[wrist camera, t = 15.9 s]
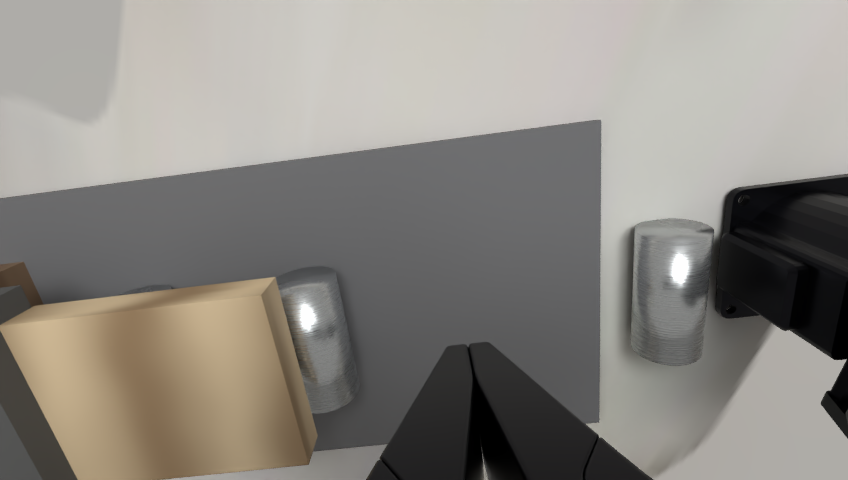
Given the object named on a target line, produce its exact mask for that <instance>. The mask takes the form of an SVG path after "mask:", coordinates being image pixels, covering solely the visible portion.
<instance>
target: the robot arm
mask: <svg viewBox="0 0 848 480" xmlns="http://www.w3.org/2000/svg"><path fill="white" fill-rule="evenodd" d="M742 195H744V198H743V200H742V201H741V202H740V203H738V200H739V198H740V197H741V196H742ZM717 286H718V287H717V296H716V306H715V307H716V311H717V312H718V313H719V314H720V315H721V316H723V317H725V318H739V317H748V316H757V315H761V316H762V317H764V318H765V319H767V320H768V321H770V322H771V323H773V324H774V325H776V326H777V327H779V328H780V329H782V330H784V331H787V330H790V331H792V332H793V333H795V334H796V335H798V336H799V337H801V338H802V339H804V340H805V341H807V342H809V343H810V344H811V345H813V346H814V347H816V348H817V349H819V350H820V351H822V352H823V353H825V354H827V355H828V356H830V357H831V358H833V359H834V360H843V359H847V360H846V362H845V364H844V366H843V368H842V370H841V372H840V374H839V376H838V378H837V380H836V382H835V384H834V386H833V387H832V390H831V391H827V392H826V393H825V396H824V397H823V399H822V401H821V405H822V406H823V407H824V409H825V410H826V411H827V413H828V414H829V415H830V416H831V418H832V419H833V420H834V422H835V423H836V424H837V425H838V427H839V428H840V429H841V430H842V432H843V433H844V434H845V436H846V437H847V438H848V174H843V175H835V176H827V177H819V178H811V179H803V180H795V181H786V182H778V183H770V184H762V185H754V186H746V187H739V188H735V189H734V190H732V191H731V192H730V193H729V195H728V197H727V201H726V211H725V220H724V230H723V236H722V238H721V245H720V255H719V264H718V274H717ZM729 305H731V306H730V308H729V309H727V310H726V308H727V307H728V306H729ZM481 447H482V449H481ZM482 453H483V458H482ZM483 459H484V464H485V468H486V472H487V476H488V479H489V480H653V479H652V478H650V477H649V476H648V475H646V474H645V473H644V472H643V471H641V470H640V469H639V468H638V467H636V466H635V465H634V464H633V463H631V462H630V461H629V460H628V459H626V458H625V457H624V456H623V455H622V454H620V453H619V452H618V451H617V450H615V449H614V448H613V447H612V446H611V445H610V444H608V443H607V442H606V441H605V440H604V439H603V438H599V436H598V434H596V433H595V432H594V431H593V430H592V429H591V428H589V427H588V426H587V425H586V424H585V423H584V422H582V421H581V420H580V419H579V418H578V417H577V416H575V415H574V414H573V413H572V412H571V411H569V410H568V409H567V408H566V407H565V406H564V405H562V404H561V403H560V402H559V401H558V400H557V399H555V398H554V397H553V396H552V395H551V394H550V393H548V392H547V391H546V390H545V389H544V388H543V387H541V386H540V385H539V384H538V383H537V382H535V381H534V380H533V379H532V378H531V377H530V376H528V375H527V374H526V373H525V372H524V371H523V370H521V369H520V368H519V367H518V366H517V365H516V364H514V363H513V362H512V361H511V360H510V359H509V358H507V357H506V356H505V355H504V354H503V353H501V352H500V351H499V350H498V349H497V348H496V347H494V346H493V345H492V344H491V343H490V342H478V343H471V344H469V346H467V345H465V344H460V345H451V346H447V347H446V349H445V350H444V352H443V354H442V355H441V357H440V359H439V360H438V362H437V364H436V365H435V367H434V369H433V370H432V372H431V374H430V375H429V377H428V379H427V380H426V382H425V384H424V385H423V387H422V388H421V390H420V392H419V393H418V395H417V397H416V398H415V400H414V402H413V403H412V405H411V407H410V408H409V410H408V412H407V413H406V415H405V417H404V418H403V420H402V422H401V423H400V425H399V427H398V428H397V430H396V432H395V433H394V435H393V437H392V438H391V440H390V442H389V443H388V445H387V446H386V448H385V450H384V451H383V453H382V455H381V456H380V460H378V461H377V463H376V464H375V466H374V468H373V469H372V471H371V473H370V474H369V476H368V478H367V479H366V480H484V473H483Z"/></svg>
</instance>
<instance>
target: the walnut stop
mask: <svg viewBox="0 0 848 480" xmlns="http://www.w3.org/2000/svg"><path fill="white" fill-rule="evenodd" d="M37 305H44V304H43V302H42V300H41V297H40V295H39V293H38V291H37V289H36V287H35V285H34V283H33V280H32V278H31V276H30V274H29V272H28V270H27V268H26V266H25V263H24V262H16V263H8V264H0V325H1V324H3V323H5V322H6V321H8V320H10V319H12V318H14V317H15V316H17V315H19V314H21V313H23V312H24V311H26V310H28V309H30V308H32V307H33V306H37ZM0 480H78V479H77V477H76V475H75V474H74V472H73V470H72V468H71V466H70V464H69V462H68V460H67V458H66V456H65V454H64V452H63V450H62V448H61V447H60V445H59V443H58V441H57V439H56V437H55V435H54V433H53V431H52V429H51V427H50V425H49V423H48V422H47V420H46V418H45V416H44V414H43V412H42V410H41V408H40V406H39V404H38V402H37V400H36V398H35V397H34V395H33V393H32V391H31V389H30V387H29V385H28V383H27V381H26V379H25V377H24V375H23V373H22V371H21V370H20V368H19V366H18V364H17V362H16V360H15V358H14V356H13V354H12V352H11V350H10V348H9V346H8V345H7V343H6V341H5V339H4V337H3V335H2V333H1V331H0Z"/></svg>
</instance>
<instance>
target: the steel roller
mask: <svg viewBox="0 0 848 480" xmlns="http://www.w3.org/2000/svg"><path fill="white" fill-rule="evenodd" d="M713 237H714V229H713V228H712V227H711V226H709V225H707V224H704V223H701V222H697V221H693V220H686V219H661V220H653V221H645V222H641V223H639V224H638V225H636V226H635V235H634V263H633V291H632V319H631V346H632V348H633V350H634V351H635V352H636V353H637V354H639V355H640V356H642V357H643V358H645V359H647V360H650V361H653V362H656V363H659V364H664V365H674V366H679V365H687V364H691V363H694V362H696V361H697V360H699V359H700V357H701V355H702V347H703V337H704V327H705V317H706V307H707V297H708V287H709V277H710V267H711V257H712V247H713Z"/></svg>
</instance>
